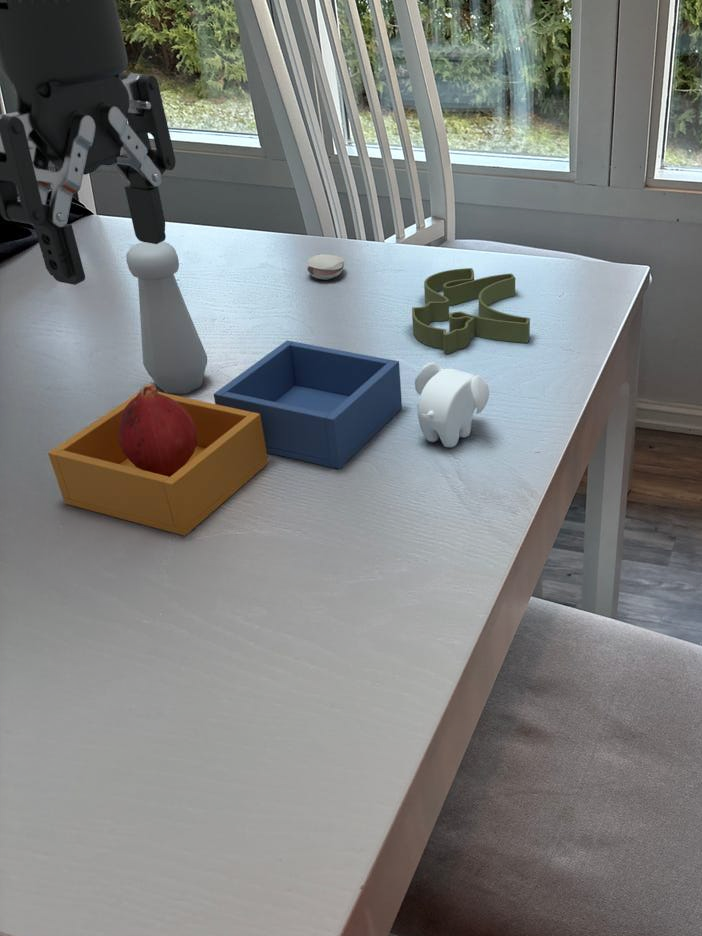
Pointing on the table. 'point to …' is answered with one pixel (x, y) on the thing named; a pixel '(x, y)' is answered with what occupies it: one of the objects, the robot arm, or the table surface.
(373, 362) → the blue bin
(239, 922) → the table surface
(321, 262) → the macaroon
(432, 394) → the elephant figurine
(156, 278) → the salt shaker
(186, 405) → the ochre bin
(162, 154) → the robot arm
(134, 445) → the red pomegranate
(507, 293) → the cookie cutter
